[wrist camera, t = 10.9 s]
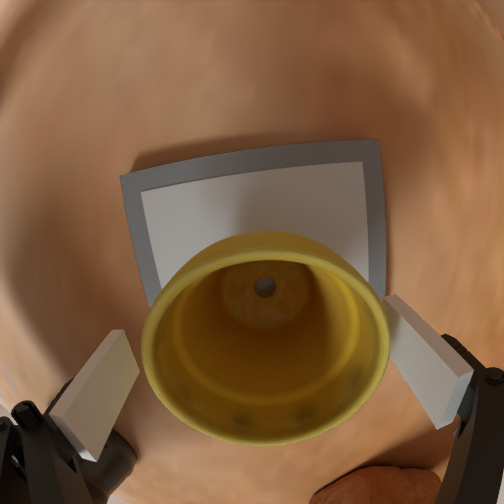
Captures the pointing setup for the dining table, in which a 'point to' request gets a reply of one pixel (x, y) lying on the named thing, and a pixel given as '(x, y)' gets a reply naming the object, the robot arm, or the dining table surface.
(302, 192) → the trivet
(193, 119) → the dining table surface
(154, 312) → the plant pot
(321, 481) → the dining table surface
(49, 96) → the dining table surface
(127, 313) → the dining table surface
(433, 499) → the bread
